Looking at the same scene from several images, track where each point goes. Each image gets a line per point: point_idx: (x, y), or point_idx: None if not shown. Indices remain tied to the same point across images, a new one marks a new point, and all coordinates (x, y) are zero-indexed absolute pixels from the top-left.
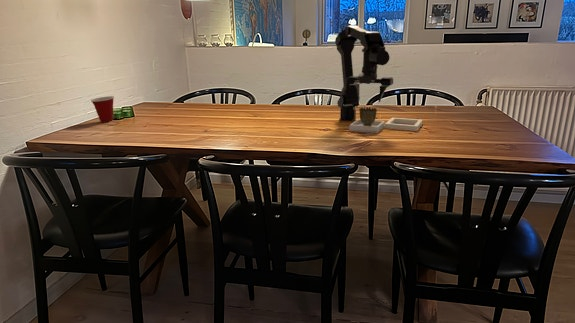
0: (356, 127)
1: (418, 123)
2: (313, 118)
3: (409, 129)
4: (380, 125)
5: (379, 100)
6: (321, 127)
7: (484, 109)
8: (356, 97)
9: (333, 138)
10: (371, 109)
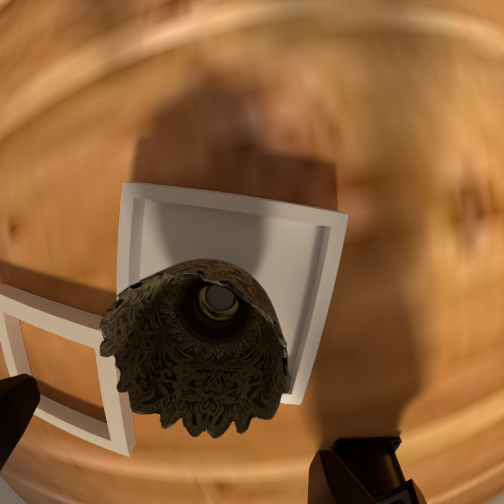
0: (288, 203)
1: (4, 345)
2: (492, 417)
3: (22, 292)
4: (118, 262)
5: (14, 379)
6: (491, 264)
7: (18, 491)
8: (355, 480)
9: (383, 17)
10: (177, 416)
